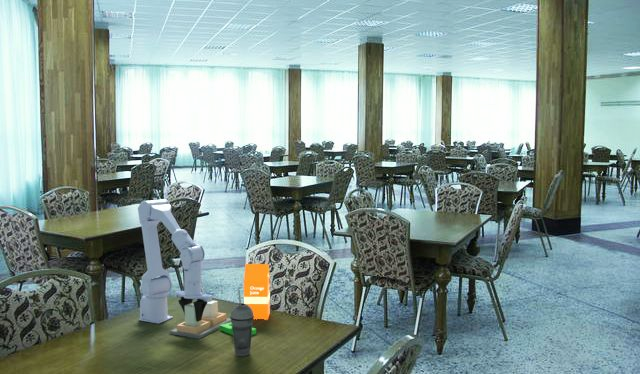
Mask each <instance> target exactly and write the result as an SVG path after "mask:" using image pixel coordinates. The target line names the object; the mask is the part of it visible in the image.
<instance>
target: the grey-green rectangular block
mask: <svg viewBox="0 0 640 374" xmlns="http://www.w3.org/2000/svg"><path fill="white" fill-rule="evenodd" d="M218 303H219V301H218V300H213V299H212V301H211V302H208V303H207V304H206V306H205V309H204V311H203V315H202V317H205V318H211V319H213V318H215V317H217V316H218V312H219V307H218V305H219V304H218Z"/></svg>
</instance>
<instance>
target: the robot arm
mask: <svg viewBox="0 0 640 374" xmlns="http://www.w3.org/2000/svg"><path fill="white" fill-rule="evenodd" d="M137 211H138V219H139V224H140V225H141V232H142V240H143V246H144V253H145V255H144V256H145V261H146V268H147V269H146V272H145V273H144V274H143V275H142V276H141V286H140V287H141V288H140V290H141V292H142V294H143V295H142V296H141V298H140V301H139V318H138V321H141V322H146V323H147V322H148V323H152V324H161V323H163V322H166V321H168V320H171V319H173V316H172V315H169V313H168V296H169V294H170V292H171V291H172V288H173V287H172V286H173V282H172V279H171V277H170V272H169V271H168V270H166V269H164V268H163V262H162V255H161V248H160V241H159V233H158V228H157V226H158V225H159V223H160V222H161V223H162V224H163V226H164V227H165V228H166V229H167V230H168V231H169V233H170V234H171V237H170V238H171V241H172V243H173V244H174V245H175V247H176V249H178V251H179V253H180V254H179V258H180V261H181V264H182V269H183V281H184V283H183V284H184V285H183V286H184V287H183V288H184V290H176V291H174V292H173V293H174V295H173V296H174V297H173V298H180V299H178V304H179V306H180V307H181V310H182V311H183V315H184V316H185V305H187V304H190V303H193V304H194V307H195V312H196V321H197V322H198V321H201V320H202V315H203V311H204V309H205V306H206V304H207V303H208V302H211V301H212V300H213V295H212V294H208V293H204V292H202V290H203V289H202V262H203V261H204V259H205V250H204V248H203V246H202V245H201V244H198V243H196V242H195V241H194V240H193V239H192V237H191V236H190V234H189V233H188V232H187V231H188V230H186V229H183V228H182V229H181V227H180V226H179V224H178V222H177V220H176V219H175V216H174V215H173V213H172V205H171V204H170V202H169V200H168V199H166V198H162V199H155V200H154V199H153V200H142V201H141V202H140V204H139V205H138V207H137ZM193 300H194V301H193Z"/></svg>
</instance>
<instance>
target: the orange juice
mask: <svg viewBox="0 0 640 374" xmlns="http://www.w3.org/2000/svg"><path fill="white" fill-rule="evenodd" d="M244 265H245V267H244V278H243V304H247V305H248V306H250V307H251V309H252V311H253V315H254V318H253V319H254V320H255V319H256V321H257V319H264V320H265V321H268V320H269V316H270V314H271V313H270V312H271V301H270V300H271V293H270V292H271V291H270V286H271V285H270V277H271V275H270V268H269V267H270V265H269V263H245V264H244ZM254 320H253V321H254Z"/></svg>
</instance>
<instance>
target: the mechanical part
mask: <svg viewBox="0 0 640 374" xmlns="http://www.w3.org/2000/svg"><path fill="white" fill-rule="evenodd" d="M220 330H221V332H223V331H224V333H226V334H229V335H232V336H233V328H232V323H226V324H223V325H220V328H219V331H220ZM256 334H257V328H255V327H252V334H251V336H254V335H256Z"/></svg>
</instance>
